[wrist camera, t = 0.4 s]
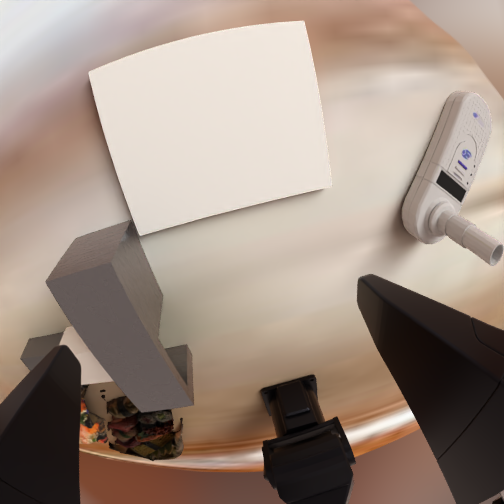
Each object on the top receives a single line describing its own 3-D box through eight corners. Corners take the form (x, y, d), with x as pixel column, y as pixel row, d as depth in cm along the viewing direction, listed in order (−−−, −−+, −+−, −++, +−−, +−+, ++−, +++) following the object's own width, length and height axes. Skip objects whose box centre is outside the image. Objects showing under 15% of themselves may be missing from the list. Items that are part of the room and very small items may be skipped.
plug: (135, 346, 26) (130, 378, 23) (46, 360, 26) (37, 388, 22) (116, 316, 24) (108, 348, 21) (26, 335, 24) (14, 362, 20)
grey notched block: (192, 354, 28) (194, 405, 22) (145, 363, 27) (141, 412, 22) (131, 219, 20) (110, 262, 15) (75, 238, 20) (45, 281, 15)
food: (194, 392, 31) (195, 418, 28) (178, 450, 40) (178, 468, 36) (19, 355, 25) (9, 377, 22) (49, 425, 34) (46, 442, 31)
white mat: (326, 182, 21) (332, 186, 21) (141, 230, 21) (139, 236, 20) (299, 23, 15) (304, 20, 15) (93, 73, 15) (88, 72, 14)
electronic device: (556, 131, 12) (491, 294, 17) (478, 111, 20) (423, 240, 26) (535, 89, 10) (463, 279, 16) (449, 79, 19) (388, 222, 24)
